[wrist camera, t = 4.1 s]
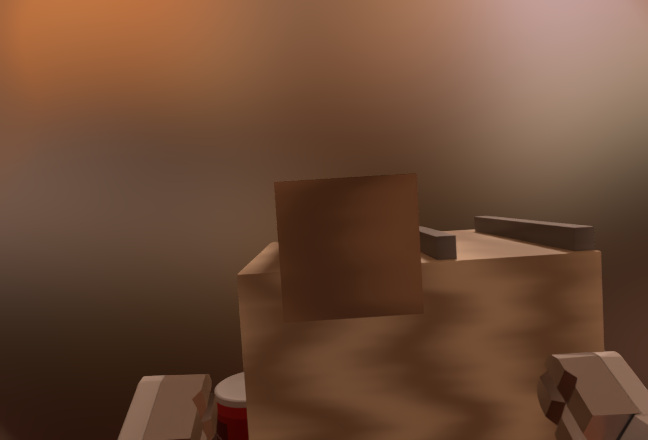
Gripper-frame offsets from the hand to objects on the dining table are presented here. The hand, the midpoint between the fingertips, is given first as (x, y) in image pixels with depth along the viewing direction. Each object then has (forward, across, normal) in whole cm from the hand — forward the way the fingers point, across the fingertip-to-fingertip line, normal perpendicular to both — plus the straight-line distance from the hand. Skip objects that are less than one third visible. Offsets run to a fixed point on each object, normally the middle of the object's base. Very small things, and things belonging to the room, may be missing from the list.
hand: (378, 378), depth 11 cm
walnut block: (+12, 0, -6) cm, 14 cm away
